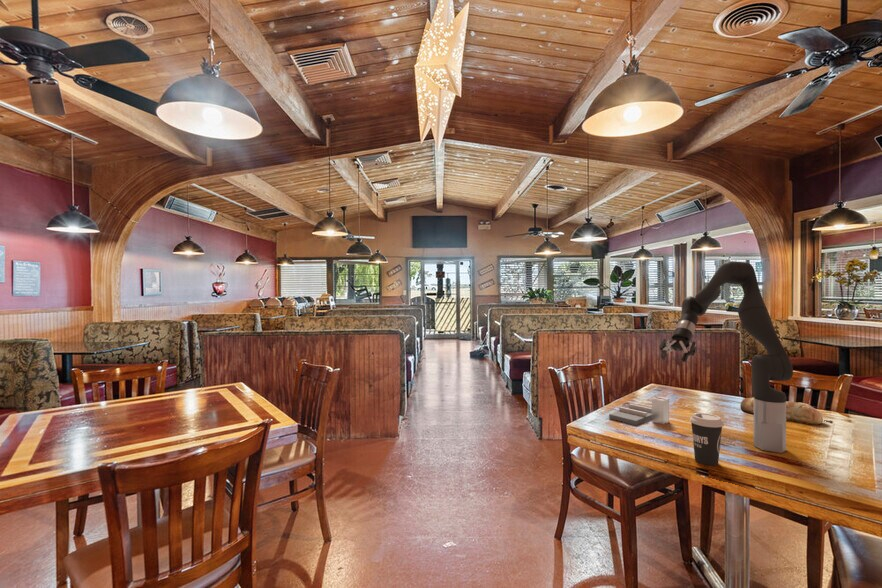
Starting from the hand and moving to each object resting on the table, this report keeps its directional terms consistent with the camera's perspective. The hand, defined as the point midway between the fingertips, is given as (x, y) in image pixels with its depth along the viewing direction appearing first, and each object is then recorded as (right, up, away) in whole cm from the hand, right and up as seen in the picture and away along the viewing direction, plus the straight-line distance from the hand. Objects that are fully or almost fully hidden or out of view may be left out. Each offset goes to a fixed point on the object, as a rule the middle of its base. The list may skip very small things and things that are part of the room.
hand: (672, 359), depth 188 cm
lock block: (-9, -25, -7) cm, 28 cm away
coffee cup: (-15, -26, -48) cm, 57 cm away
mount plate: (-15, -25, +1) cm, 30 cm away
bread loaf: (+47, -26, 0) cm, 54 cm away
